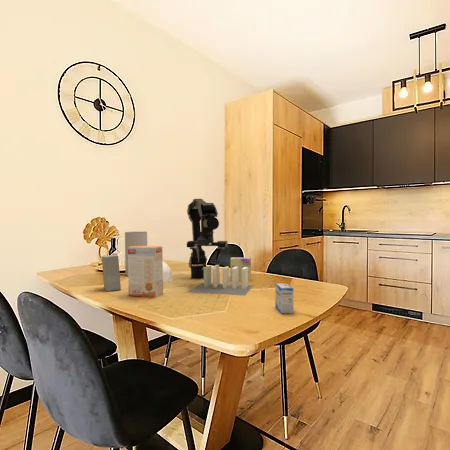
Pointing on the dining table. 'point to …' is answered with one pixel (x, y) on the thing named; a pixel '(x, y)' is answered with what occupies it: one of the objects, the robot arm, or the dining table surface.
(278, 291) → the medicine box
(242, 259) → the box
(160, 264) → the cracker box
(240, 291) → the mat
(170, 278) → the teardrop
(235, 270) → the domino
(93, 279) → the dining table surface
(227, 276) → the domino
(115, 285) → the skincare box
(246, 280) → the domino
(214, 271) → the domino
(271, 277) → the dining table surface
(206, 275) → the domino
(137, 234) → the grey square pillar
